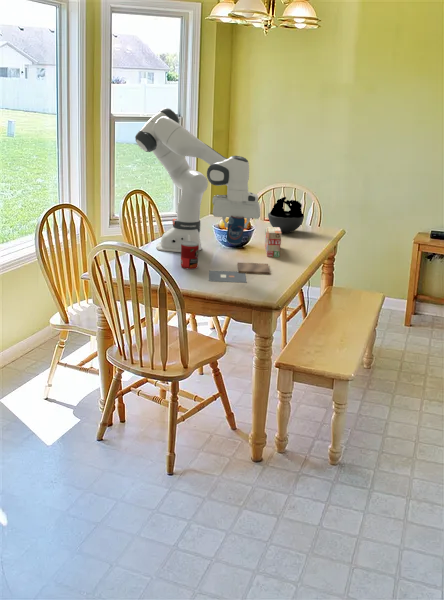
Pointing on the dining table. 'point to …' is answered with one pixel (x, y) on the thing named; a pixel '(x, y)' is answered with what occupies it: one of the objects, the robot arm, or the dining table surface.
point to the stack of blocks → (273, 241)
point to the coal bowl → (286, 215)
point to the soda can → (235, 229)
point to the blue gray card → (227, 276)
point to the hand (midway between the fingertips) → (235, 227)
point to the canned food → (189, 254)
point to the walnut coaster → (253, 268)
